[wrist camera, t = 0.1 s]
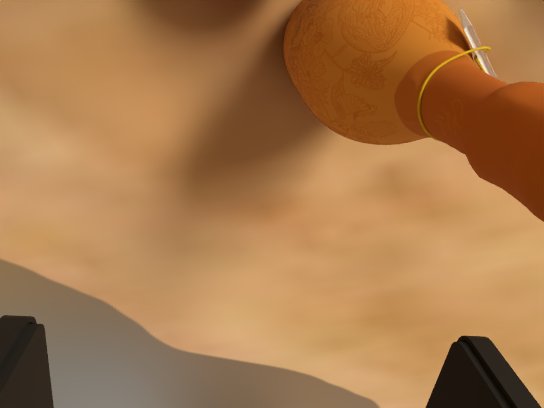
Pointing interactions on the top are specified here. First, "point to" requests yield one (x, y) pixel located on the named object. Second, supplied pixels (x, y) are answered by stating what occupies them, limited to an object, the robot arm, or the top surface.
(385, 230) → the top surface
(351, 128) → the wine bottle
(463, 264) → the top surface
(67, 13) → the top surface
